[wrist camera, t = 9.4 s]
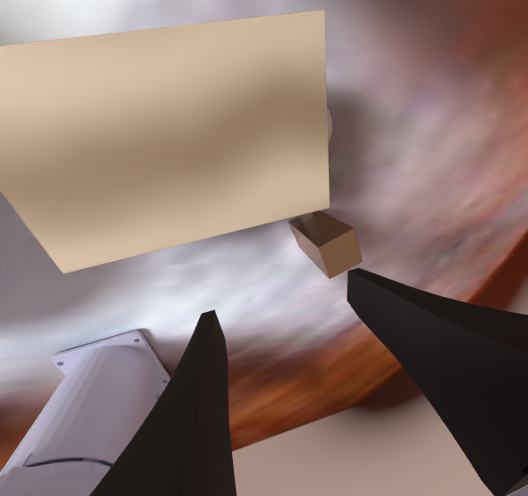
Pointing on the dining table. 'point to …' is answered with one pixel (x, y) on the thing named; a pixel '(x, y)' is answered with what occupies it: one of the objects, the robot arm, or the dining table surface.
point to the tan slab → (164, 134)
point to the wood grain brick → (327, 242)
